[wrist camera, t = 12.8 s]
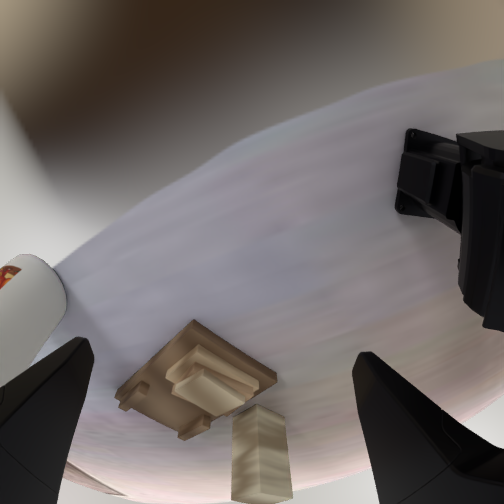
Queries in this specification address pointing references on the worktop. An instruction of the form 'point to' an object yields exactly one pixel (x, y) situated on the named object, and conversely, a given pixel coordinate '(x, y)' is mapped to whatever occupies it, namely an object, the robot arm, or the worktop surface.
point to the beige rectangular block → (260, 458)
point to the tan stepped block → (194, 382)
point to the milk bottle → (27, 312)
